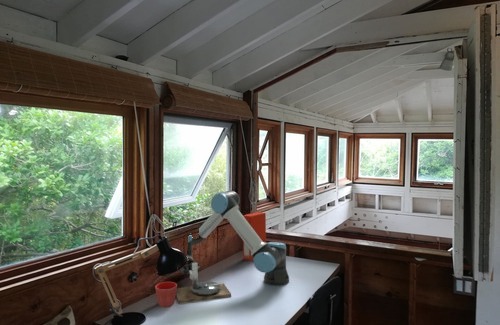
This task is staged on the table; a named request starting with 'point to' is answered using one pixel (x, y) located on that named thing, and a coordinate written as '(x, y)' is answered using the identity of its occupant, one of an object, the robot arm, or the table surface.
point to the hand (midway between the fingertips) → (191, 276)
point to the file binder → (259, 227)
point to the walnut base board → (187, 296)
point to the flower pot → (166, 293)
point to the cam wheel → (203, 284)
